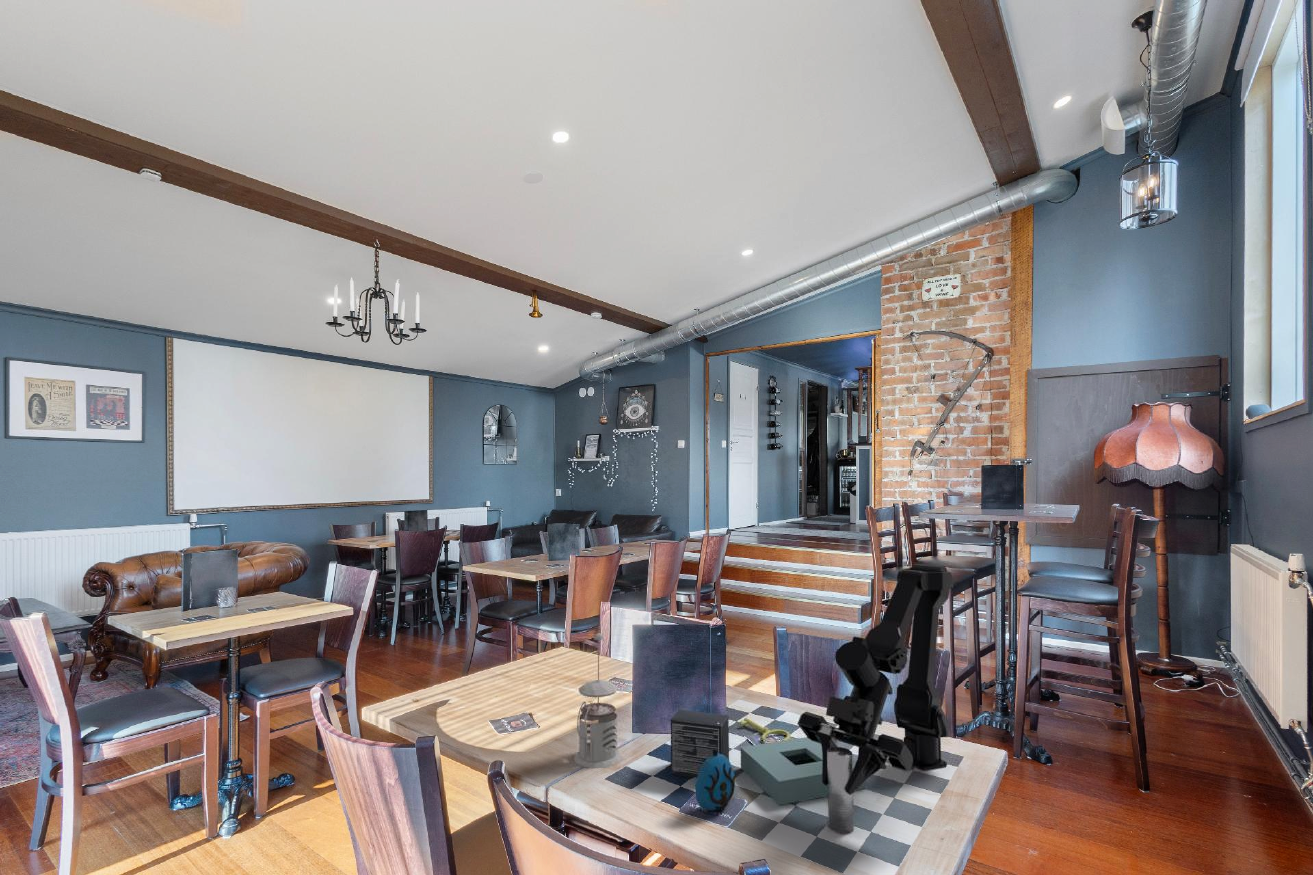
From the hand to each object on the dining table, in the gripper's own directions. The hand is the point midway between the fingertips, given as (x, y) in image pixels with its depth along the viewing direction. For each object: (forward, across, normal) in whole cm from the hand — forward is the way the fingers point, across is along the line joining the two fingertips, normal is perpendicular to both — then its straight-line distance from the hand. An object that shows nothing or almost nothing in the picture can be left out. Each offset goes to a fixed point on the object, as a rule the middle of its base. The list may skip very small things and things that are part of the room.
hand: (836, 788), depth 104 cm
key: (-12, -31, +22) cm, 40 cm away
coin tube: (+4, 0, +6) cm, 7 cm away
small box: (+4, -30, +5) cm, 30 cm away
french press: (+12, -48, -2) cm, 50 cm away
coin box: (-4, -14, +13) cm, 19 cm away
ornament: (+11, -18, -1) cm, 21 cm away
